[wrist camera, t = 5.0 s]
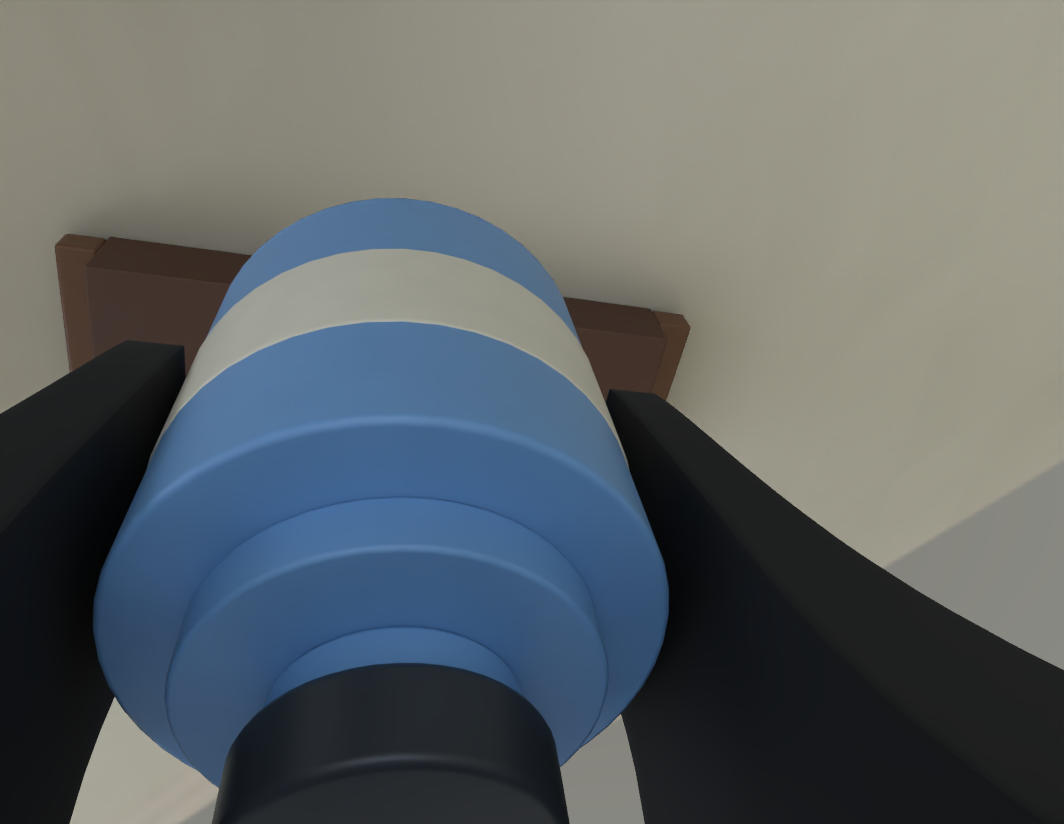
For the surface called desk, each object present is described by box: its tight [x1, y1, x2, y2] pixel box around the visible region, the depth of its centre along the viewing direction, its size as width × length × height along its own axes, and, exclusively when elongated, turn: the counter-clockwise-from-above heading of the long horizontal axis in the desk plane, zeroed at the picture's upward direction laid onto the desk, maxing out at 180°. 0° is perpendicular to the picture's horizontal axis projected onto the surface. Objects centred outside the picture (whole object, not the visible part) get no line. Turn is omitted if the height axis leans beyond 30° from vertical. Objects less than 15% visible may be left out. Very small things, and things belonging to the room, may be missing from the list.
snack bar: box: [55, 234, 690, 403], centre depth 18 cm, size 14×4×2 cm, turn 78°
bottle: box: [93, 198, 669, 824], centre depth 8 cm, size 5×5×7 cm
